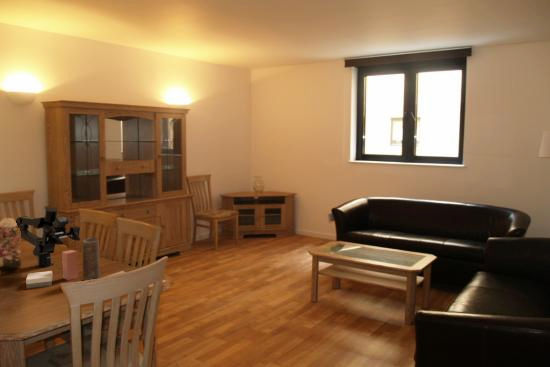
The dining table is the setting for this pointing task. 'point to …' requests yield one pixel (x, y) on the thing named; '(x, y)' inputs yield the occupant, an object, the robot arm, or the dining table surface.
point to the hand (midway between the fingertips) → (71, 241)
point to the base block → (39, 279)
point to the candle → (91, 258)
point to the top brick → (70, 264)
